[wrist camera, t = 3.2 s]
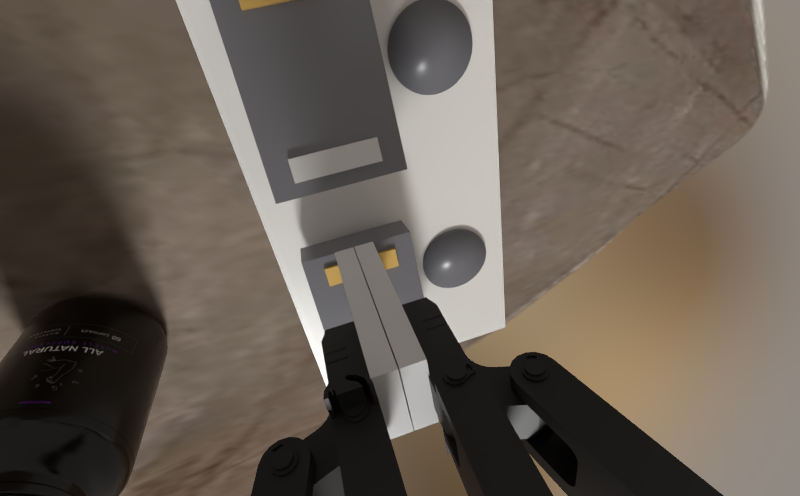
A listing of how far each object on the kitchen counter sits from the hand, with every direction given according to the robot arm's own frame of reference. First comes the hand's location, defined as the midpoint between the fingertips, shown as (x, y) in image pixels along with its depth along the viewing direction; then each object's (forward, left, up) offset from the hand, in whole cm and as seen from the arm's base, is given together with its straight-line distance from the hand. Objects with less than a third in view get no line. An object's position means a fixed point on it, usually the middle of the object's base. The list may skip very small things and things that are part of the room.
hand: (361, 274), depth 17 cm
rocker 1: (0, +7, -1) cm, 7 cm away
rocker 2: (0, -3, -1) cm, 3 cm away
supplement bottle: (-15, -5, -8) cm, 18 cm away
